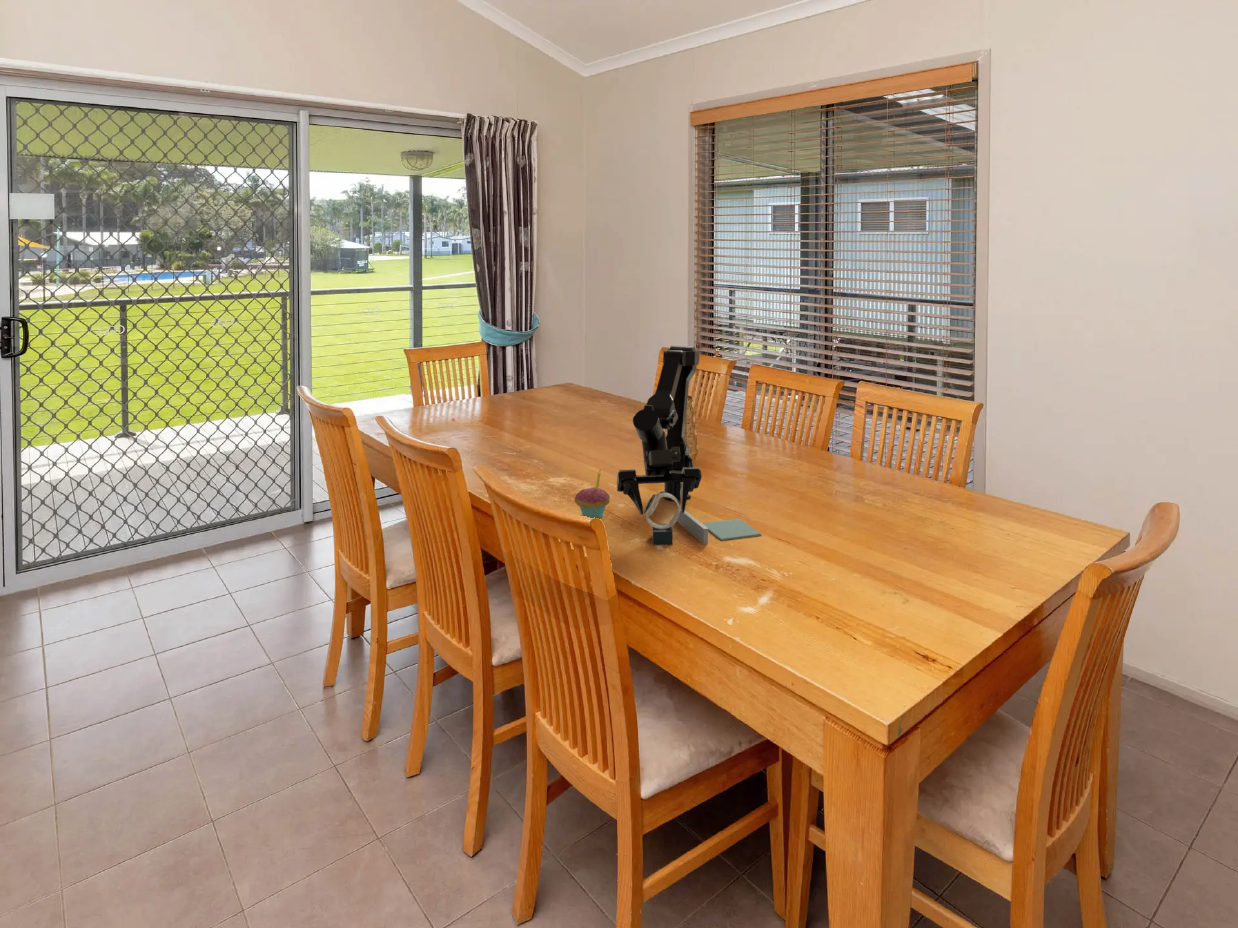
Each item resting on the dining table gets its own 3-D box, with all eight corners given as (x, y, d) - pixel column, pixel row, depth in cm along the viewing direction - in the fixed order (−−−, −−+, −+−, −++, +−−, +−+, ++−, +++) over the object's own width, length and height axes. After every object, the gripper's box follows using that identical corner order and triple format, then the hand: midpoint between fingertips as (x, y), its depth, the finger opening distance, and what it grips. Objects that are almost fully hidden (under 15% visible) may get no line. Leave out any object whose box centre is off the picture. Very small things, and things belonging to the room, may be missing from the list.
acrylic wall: (676, 520, 198) (676, 507, 197) (680, 520, 199) (680, 506, 198) (703, 543, 184) (704, 528, 183) (707, 543, 184) (708, 528, 183)
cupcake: (609, 510, 206) (609, 464, 203) (610, 521, 198) (609, 473, 195) (575, 511, 206) (574, 464, 203) (574, 522, 198) (573, 474, 195)
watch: (643, 536, 189) (643, 490, 186) (679, 536, 189) (679, 490, 186) (644, 545, 183) (644, 497, 180) (680, 545, 183) (681, 497, 180)
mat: (701, 524, 196) (701, 523, 196) (739, 520, 199) (739, 518, 199) (721, 540, 186) (721, 538, 185) (761, 535, 189) (761, 533, 188)
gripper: (617, 435, 183) (623, 498, 175) (700, 432, 185) (710, 494, 177) (614, 460, 192) (619, 520, 185) (693, 457, 194) (702, 517, 187)
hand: (662, 513), depth 183 cm, fingers open, 9 cm apart
